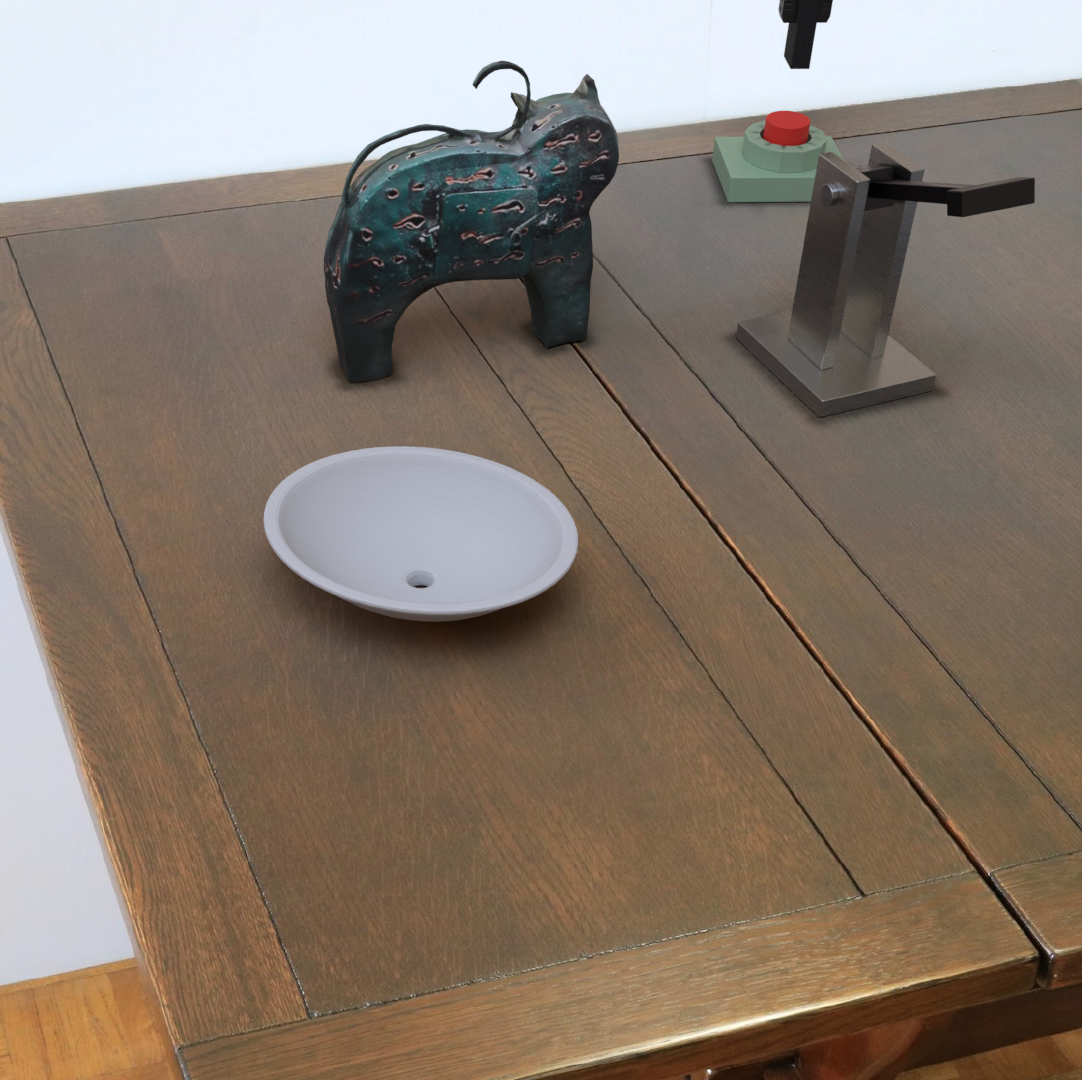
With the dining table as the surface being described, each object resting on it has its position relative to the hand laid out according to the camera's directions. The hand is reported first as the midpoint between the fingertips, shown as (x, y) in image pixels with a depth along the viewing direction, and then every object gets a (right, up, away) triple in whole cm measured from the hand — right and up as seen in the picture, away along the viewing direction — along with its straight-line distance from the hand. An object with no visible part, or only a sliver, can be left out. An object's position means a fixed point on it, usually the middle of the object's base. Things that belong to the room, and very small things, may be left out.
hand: (796, 62), depth 121 cm
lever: (+1, -20, -28) cm, 35 cm away
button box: (0, -8, +7) cm, 10 cm away
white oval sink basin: (-29, -43, -34) cm, 62 cm away
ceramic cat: (-26, -26, -15) cm, 39 cm away
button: (0, -5, +4) cm, 6 cm away
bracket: (-1, -27, -15) cm, 31 cm away
